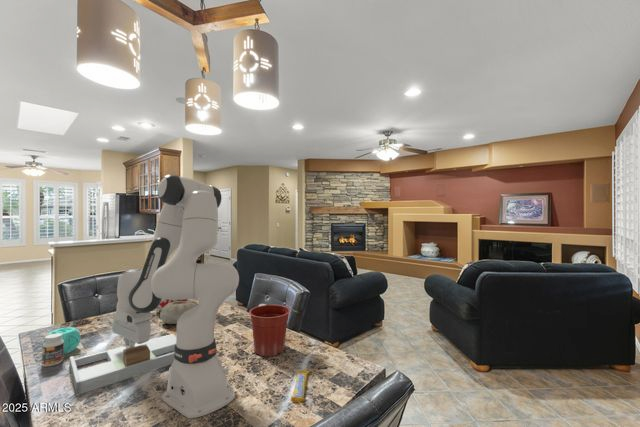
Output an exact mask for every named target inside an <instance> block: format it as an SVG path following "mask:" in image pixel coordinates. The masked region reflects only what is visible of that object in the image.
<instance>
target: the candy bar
mask: <svg viewBox="0 0 640 427" xmlns="http://www.w3.org/2000/svg"><path fill="white" fill-rule="evenodd" d="M296 373H297V374H296V380H295V386H294V390H293V395H292V396H291V400H290V402H292V401H293V402H294V403H301V402H300V401H304V402H305V399H304V398H305V394H306V393H305V392H306V388H305V387H307V382H306V381H308V376H309V374H310V370H309V369H304V370H303V369H301V370H300V369H297V372H296ZM304 393H305V394H304Z"/></svg>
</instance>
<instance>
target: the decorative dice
mask: <svg viewBox="0 0 640 427" xmlns="http://www.w3.org/2000/svg"><path fill="white" fill-rule="evenodd" d="M56 333H62V340H63V341H64V354H63V355H66V354H70V353H71V352H73V351H74V350H75V349H76V348H77V347H78V345H79V344H80V341H81V333H80V331H79V330H78V329H77V328H75V327H71V326H70V327H68V326H67V327H62V328H61V327H60V328H57V329H53V330H51V331H50V332H49V333H48V334H47V335H46V336H48V335H51V334H56ZM44 343H46V342H45V338H44V340H43V343H42V345H43V344H44Z"/></svg>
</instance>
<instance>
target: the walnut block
mask: <svg viewBox="0 0 640 427" xmlns="http://www.w3.org/2000/svg"><path fill="white" fill-rule="evenodd" d="M149 359H150V350H149V348H148V346H147V345H146V344H144V345H140V346H136V347H132V348H128V349H124V350H123V362H124V365H125V367H126V366H129V365H133V364H136V363H139V362H143V361H146V360H149Z"/></svg>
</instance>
